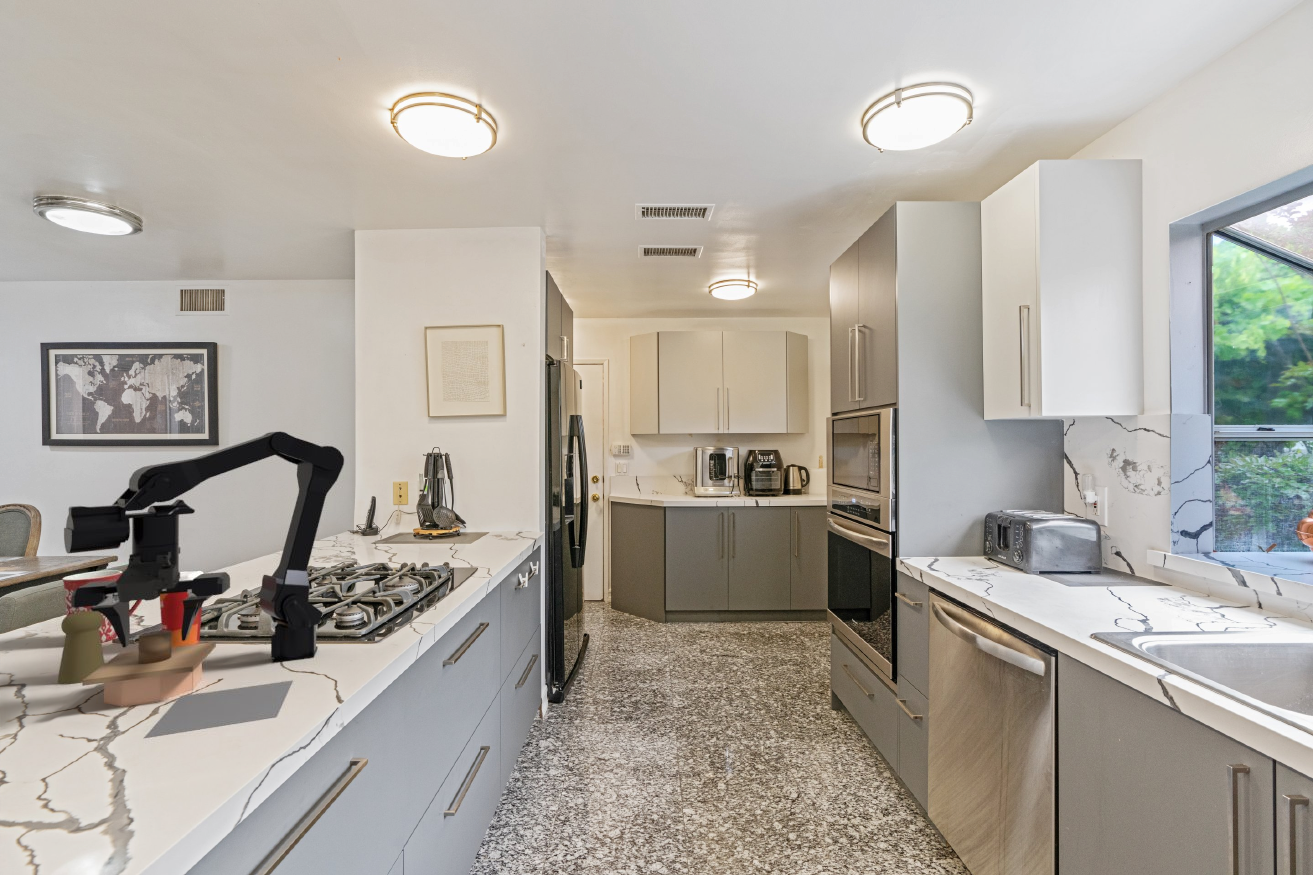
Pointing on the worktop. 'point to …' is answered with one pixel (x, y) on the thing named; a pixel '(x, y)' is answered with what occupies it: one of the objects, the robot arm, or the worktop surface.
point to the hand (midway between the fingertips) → (155, 643)
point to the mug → (106, 629)
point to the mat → (222, 708)
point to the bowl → (151, 688)
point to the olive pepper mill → (81, 646)
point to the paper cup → (179, 614)
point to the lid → (151, 660)
